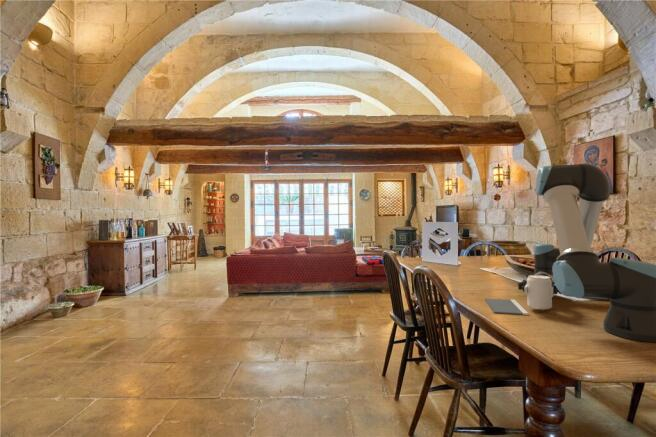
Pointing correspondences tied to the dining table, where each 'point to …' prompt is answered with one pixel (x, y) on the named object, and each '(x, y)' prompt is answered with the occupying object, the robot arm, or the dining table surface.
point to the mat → (505, 306)
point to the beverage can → (539, 292)
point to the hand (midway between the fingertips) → (538, 292)
